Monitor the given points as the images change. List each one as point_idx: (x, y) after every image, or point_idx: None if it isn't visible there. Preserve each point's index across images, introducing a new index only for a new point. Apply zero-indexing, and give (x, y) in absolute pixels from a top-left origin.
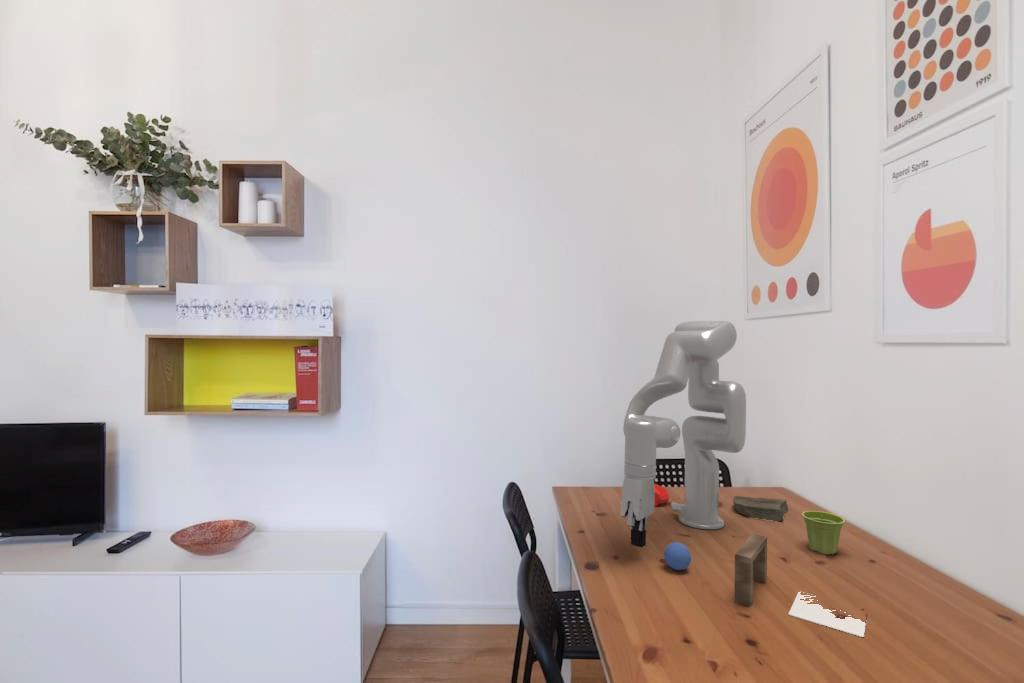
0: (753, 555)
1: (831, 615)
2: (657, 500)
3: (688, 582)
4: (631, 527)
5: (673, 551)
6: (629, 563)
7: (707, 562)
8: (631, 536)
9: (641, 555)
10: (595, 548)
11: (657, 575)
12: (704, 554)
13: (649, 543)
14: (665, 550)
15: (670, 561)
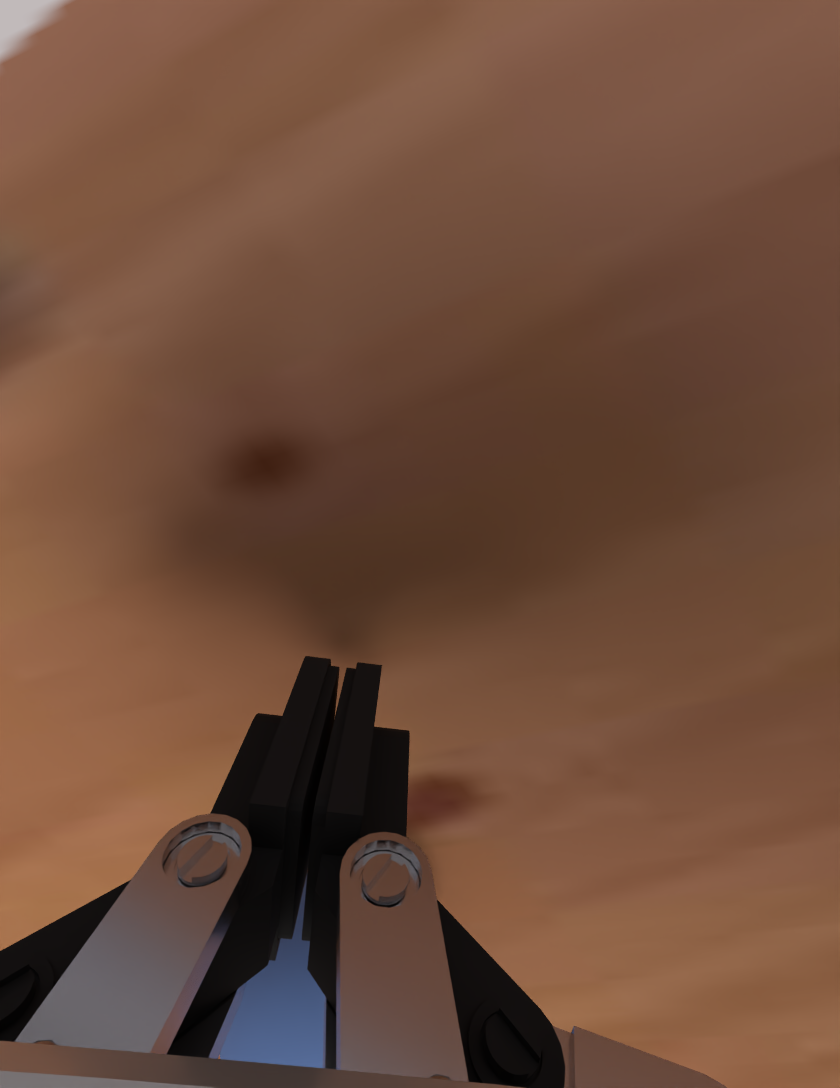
0: None
1: None
2: None
3: None
4: (157, 861)
5: (222, 1058)
6: (216, 608)
7: (565, 998)
8: (286, 717)
9: (444, 647)
10: (347, 165)
11: (161, 813)
12: (699, 976)
13: (771, 639)
14: (269, 975)
15: None
